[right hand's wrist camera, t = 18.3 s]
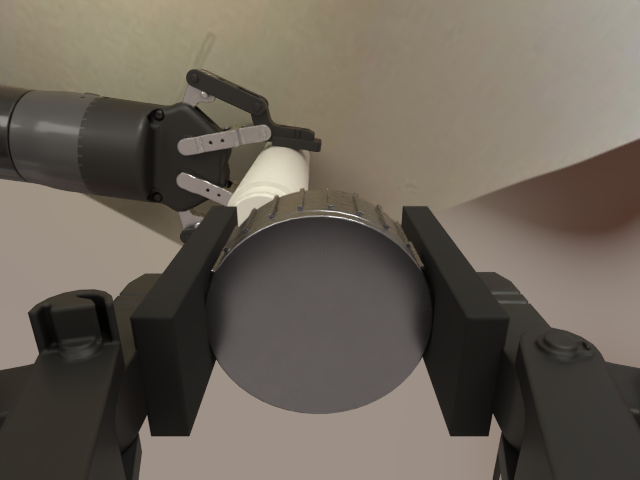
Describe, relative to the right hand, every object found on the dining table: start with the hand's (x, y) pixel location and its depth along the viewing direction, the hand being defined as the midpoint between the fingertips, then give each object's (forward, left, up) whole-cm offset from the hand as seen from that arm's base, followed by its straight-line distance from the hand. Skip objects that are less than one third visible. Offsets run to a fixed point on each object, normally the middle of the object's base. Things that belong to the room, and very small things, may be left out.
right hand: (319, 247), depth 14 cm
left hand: (+2, -1, -22) cm, 22 cm away
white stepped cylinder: (+1, -4, -28) cm, 28 cm away
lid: (0, 0, +4) cm, 4 cm away
